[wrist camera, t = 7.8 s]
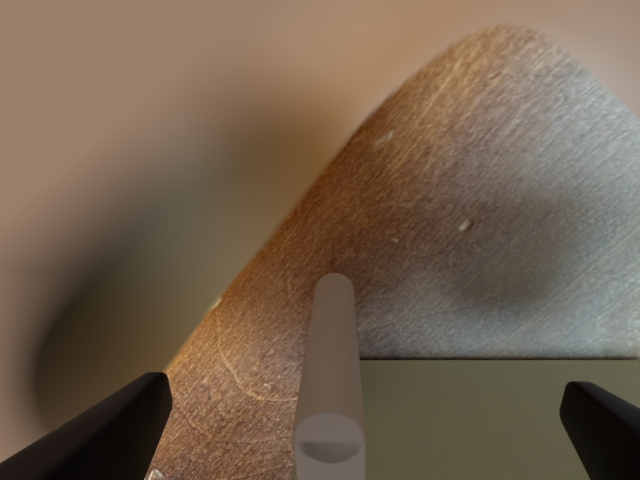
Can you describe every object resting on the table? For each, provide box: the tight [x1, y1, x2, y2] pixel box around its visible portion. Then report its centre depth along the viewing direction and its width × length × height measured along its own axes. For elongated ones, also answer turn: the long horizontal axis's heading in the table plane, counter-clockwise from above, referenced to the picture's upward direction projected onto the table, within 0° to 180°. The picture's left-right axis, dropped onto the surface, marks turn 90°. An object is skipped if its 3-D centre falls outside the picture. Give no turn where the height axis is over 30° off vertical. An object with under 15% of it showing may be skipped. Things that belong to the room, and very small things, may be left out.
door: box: [292, 273, 640, 480], centre depth 10 cm, size 6×16×10 cm, turn 93°
